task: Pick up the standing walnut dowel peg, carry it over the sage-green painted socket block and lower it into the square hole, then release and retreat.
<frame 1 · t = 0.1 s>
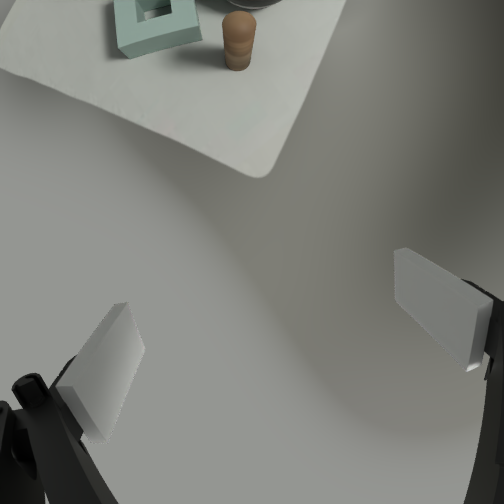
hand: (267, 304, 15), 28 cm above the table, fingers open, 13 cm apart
peg: (237, 60, 36), on the table
socket block: (160, 19, 34), on the table
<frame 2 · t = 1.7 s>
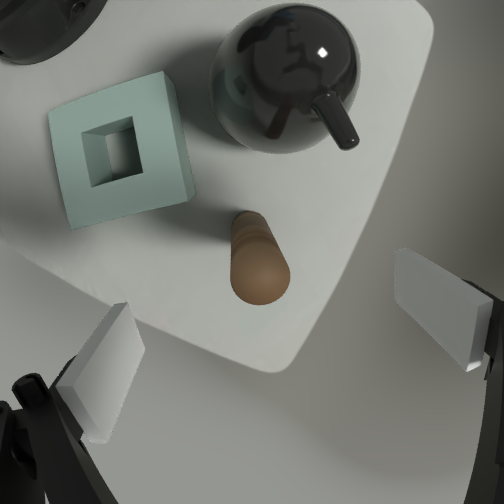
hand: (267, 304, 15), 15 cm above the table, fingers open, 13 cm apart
peg: (249, 228, 29), on the table
pump dispenser: (271, 99, 26), on the table
socket block: (130, 152, 26), on the table
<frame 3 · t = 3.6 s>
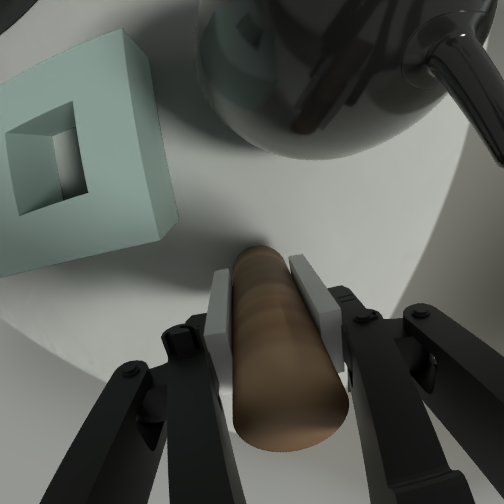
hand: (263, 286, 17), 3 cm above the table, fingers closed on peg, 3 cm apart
peg: (259, 271, 19), on the table, touching gripper
pump dispenser: (293, 78, 17), on the table
socket block: (85, 158, 17), on the table
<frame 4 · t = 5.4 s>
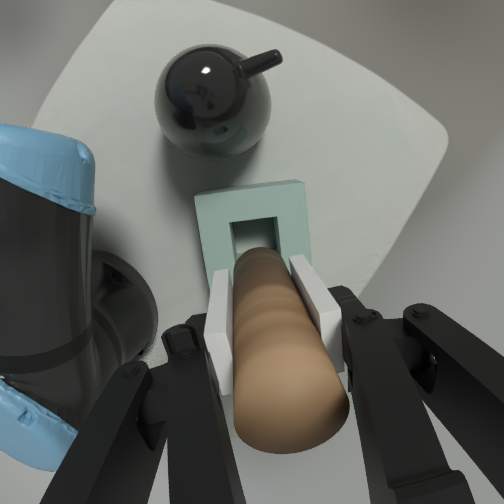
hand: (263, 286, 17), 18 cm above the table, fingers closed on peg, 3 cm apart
peg: (260, 273, 19), point 16 cm above the table, touching gripper
pump dispenser: (219, 113, 31), on the table
socket block: (254, 231, 35), on the table
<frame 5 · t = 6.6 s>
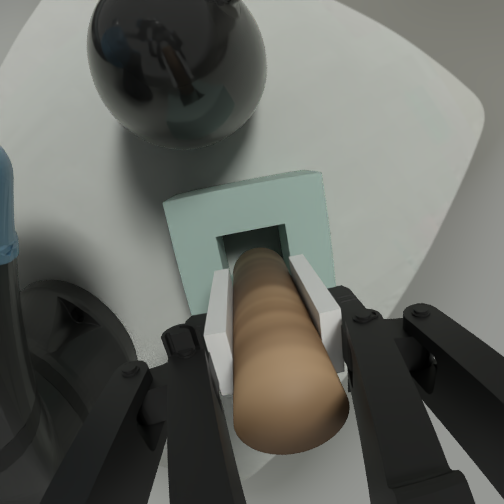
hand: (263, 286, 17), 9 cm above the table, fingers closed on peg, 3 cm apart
peg: (260, 273, 19), point 6 cm above the table, touching gripper
pump dispenser: (195, 87, 22), on the table
socket block: (252, 243, 26), on the table
when the fingers open (6 cm above the table, at t = 7.3 s): peg drops 3 cm, resting in socket block.
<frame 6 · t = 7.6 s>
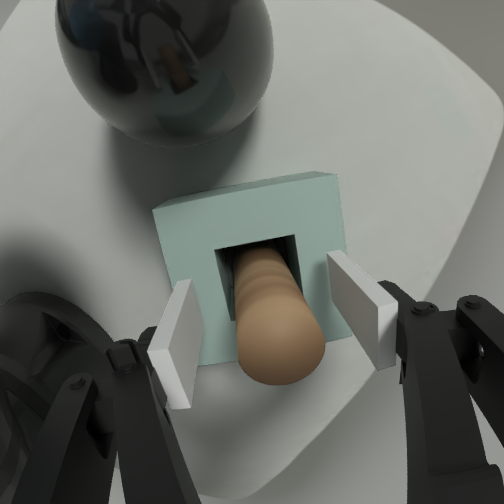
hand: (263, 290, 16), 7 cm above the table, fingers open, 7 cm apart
peg: (255, 256, 23), resting in socket block
pump dispenser: (191, 78, 19), on the table
socket block: (255, 254, 23), on the table
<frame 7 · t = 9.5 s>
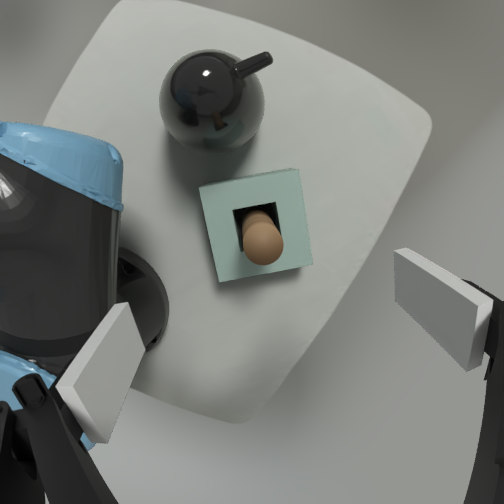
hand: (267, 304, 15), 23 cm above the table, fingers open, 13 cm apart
peg: (255, 219, 37), resting in socket block
pump dispenser: (217, 111, 34), on the table
socket block: (255, 218, 37), on the table
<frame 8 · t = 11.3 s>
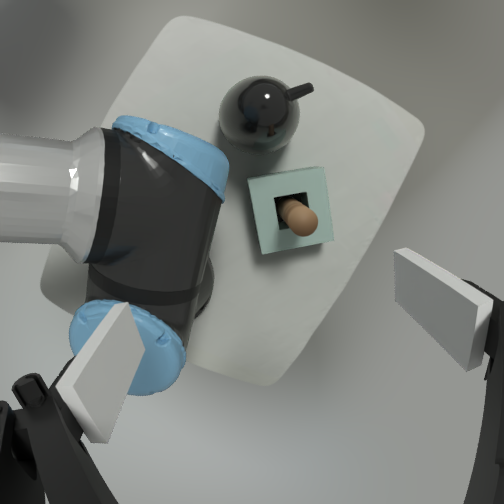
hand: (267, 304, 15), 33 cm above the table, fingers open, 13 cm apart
peg: (287, 206, 47), resting in socket block
pump dispenser: (257, 120, 43), on the table
socket block: (287, 205, 47), on the table
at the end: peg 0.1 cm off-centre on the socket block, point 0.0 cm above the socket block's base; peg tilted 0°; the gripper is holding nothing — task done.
